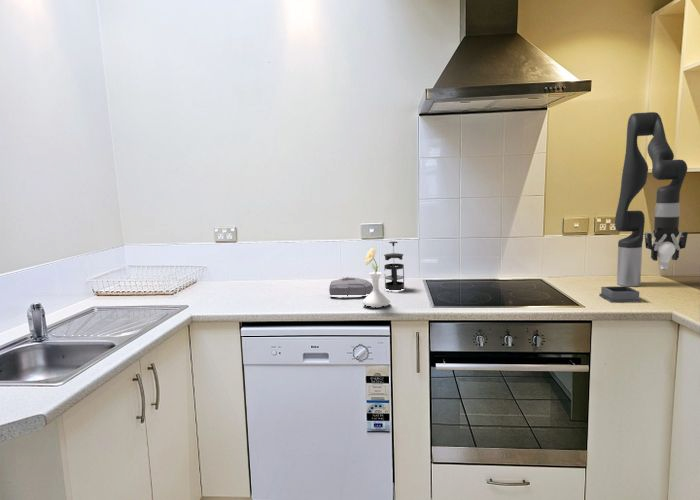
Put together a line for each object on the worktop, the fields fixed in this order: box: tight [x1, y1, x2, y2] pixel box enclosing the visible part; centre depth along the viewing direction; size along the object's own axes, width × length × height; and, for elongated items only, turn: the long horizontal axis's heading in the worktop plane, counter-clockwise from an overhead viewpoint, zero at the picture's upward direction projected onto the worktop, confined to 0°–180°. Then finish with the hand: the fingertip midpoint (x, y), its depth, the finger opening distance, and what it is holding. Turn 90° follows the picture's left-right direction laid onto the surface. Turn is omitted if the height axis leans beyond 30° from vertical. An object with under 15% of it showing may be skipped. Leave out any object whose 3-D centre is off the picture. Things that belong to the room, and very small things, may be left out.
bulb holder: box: [598, 285, 642, 304], centre depth 188 cm, size 11×11×4 cm
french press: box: [383, 241, 405, 290], centre depth 220 cm, size 12×9×23 cm
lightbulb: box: [657, 242, 676, 271], centre depth 175 cm, size 6×6×11 cm
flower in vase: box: [362, 246, 391, 308], centre depth 191 cm, size 13×11×25 cm
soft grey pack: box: [328, 276, 373, 296], centre depth 214 cm, size 15×8×20 cm
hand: (664, 260), depth 175 cm, fingers closed on lightbulb, 6 cm apart
